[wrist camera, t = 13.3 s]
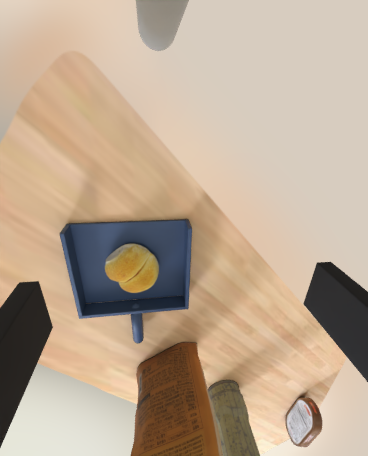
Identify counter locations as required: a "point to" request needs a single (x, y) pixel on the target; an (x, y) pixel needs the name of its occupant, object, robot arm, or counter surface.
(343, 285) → the robot arm
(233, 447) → the thermos
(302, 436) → the tin
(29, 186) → the counter surface
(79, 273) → the scoop
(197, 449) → the pancake mix bag
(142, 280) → the bread roll
